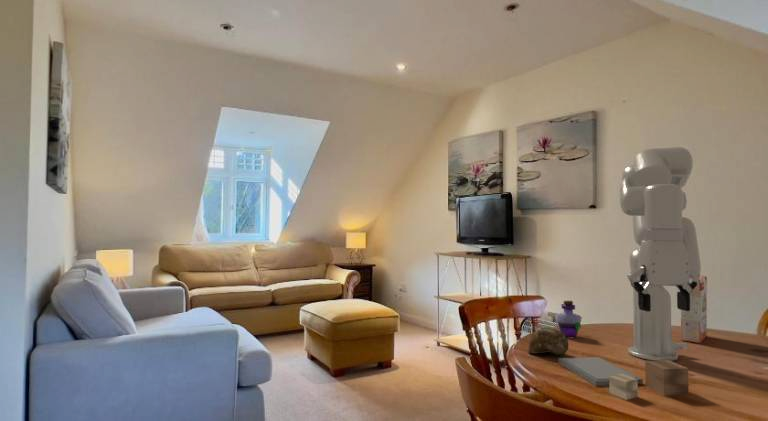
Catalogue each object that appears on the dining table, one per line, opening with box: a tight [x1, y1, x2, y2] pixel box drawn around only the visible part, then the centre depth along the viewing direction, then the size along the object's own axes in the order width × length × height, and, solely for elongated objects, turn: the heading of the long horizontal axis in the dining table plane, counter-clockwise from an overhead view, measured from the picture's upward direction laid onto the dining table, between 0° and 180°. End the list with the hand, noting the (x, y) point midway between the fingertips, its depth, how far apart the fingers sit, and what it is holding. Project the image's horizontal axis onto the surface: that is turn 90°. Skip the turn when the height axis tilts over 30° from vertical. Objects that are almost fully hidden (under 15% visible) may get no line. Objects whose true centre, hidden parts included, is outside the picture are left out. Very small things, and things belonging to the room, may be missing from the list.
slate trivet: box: [557, 356, 644, 387], centre depth 116 cm, size 12×18×1 cm, turn 6°
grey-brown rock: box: [527, 326, 569, 356], centre depth 133 cm, size 11×9×8 cm
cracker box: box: [680, 275, 708, 344], centre depth 152 cm, size 14×6×21 cm, turn 137°
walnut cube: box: [644, 360, 689, 397], centre depth 104 cm, size 6×6×6 cm
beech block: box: [608, 374, 639, 401], centre depth 101 cm, size 4×4×4 cm
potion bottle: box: [555, 300, 583, 338], centre depth 154 cm, size 9×9×12 cm
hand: (664, 310), depth 105 cm, fingers open, 9 cm apart
